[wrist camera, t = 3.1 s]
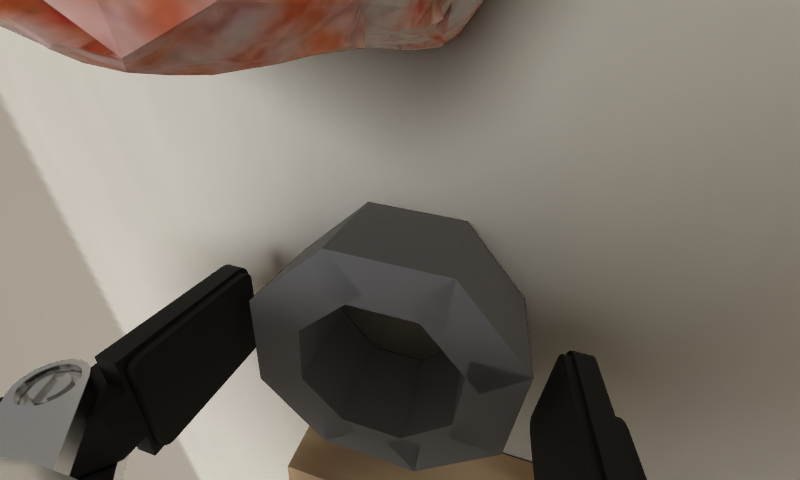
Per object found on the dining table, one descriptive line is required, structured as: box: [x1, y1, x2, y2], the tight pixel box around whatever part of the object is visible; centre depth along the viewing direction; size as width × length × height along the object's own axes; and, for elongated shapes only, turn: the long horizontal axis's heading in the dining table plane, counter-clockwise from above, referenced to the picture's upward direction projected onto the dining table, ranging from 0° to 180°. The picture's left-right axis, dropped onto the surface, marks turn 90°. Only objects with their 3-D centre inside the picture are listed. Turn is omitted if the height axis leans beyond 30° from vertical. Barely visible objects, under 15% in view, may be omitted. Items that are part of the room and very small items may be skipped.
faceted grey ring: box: [249, 202, 533, 471], centre depth 10 cm, size 7×7×3 cm
